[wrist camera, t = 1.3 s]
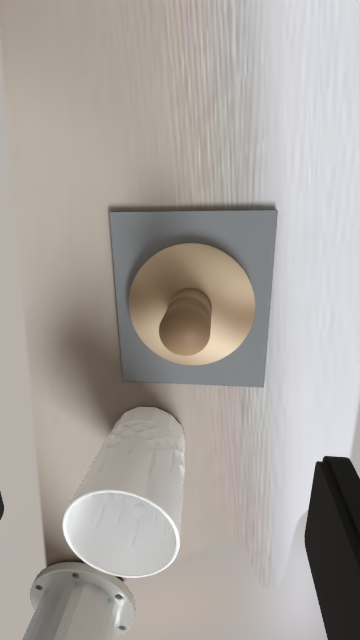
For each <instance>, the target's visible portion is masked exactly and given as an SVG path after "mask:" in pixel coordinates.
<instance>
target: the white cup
mask: <svg viewBox="0 0 360 640" xmlns="http://www.w3.org/2000/svg"><path fill="white" fill-rule="evenodd" d="M184 452H185V436H184V433H183V429H182V426H181V425H180V424H179V422H178V421H177V420H176V419H175V418H174V417H173V416H172V415H171V414H169V413H167V412H165V411H163V410H161V409H158V408H156V407H137V408H134V409H132V410H129V411H127V412H125V413H124V414H123V415H122V416H121V417H120V419H119V420H118V421H117V422H116V423H115V425H114V427H113V429H112V431H111V433H110V434H109V436H108V437H107V438H106V440H105V442H104V443H103V445H102V447H101V449H100V450H99V452H98V453H97V455H96V457H95V459H94V460H93V462H92V464H91V466H90V468H89V469H88V471H87V473H86V475H85V477H84V479H83V480H82V482H81V484H80V486H79V488H78V489H77V491H76V493H75V495H74V497H73V498H72V500H71V502H70V504H69V505H68V507H67V509H66V511H65V513H64V516H63V522H62V528H63V533H64V537H65V539H66V541H67V543H68V545H69V546H70V548H71V549H72V551H73V552H74V553H75V554H76V555H77V556H78V557H79V558H80V559H81V560H83V561H84V562H85V563H87V564H88V565H90V566H92V567H93V568H95V569H97V570H99V571H102V572H104V573H107V574H110V575H114V576H119V577H128V578H138V577H145V576H150V575H153V574H156V573H158V572H160V571H162V570H164V569H165V568H167V567H168V566H169V565H170V564H171V563H172V562H173V561H174V559H175V558H176V556H177V554H178V551H179V546H180V532H181V518H182V504H183V490H184V470H185V463H184Z"/></svg>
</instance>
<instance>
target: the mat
mask: <svg viewBox="0 0 360 640" xmlns="http://www.w3.org/2000/svg"><path fill="white" fill-rule="evenodd" d="M277 213H278V210H240V211H159V212H109V214H110V226H111V238H112V251H113V263H114V276H115V288H116V300H117V313H118V325H119V338H120V350H121V362H122V375H123V381H132V382H154V383H177V384H200V385H222V386H245V387H264V377H265V365H266V352H267V339H268V327H269V314H270V301H271V289H272V276H273V264H274V251H275V238H276V226H277ZM182 243H201V244H206V245H210V246H213V247H215V248H218V249H220V250H222V251H224V252H225V253H227V254H228V255H230V256H231V257H232V258H233V259H234V260H236V261H237V262H238V264H239V265H240V266H241V267H242V268H243V270H244V271H245V273H246V275H247V276H248V279H249V281H250V283H251V285H252V289H253V292H254V298H255V314H254V320H253V323H252V326H251V329H250V331H249V333H248V335H247V336H246V338H245V340H244V341H243V342H242V343H241V345H240V346H239V347H238V348H237V349H236V350H234V351H233V352H232V353H230V354H229V355H228V356H226V357H224V358H222V359H220V360H218V361H215V362H212V363H209V364H203V365H183V364H178V363H174V362H171V361H168V360H166V359H164V358H162V357H160V356H159V355H157V354H156V353H154V352H153V351H152V350H151V349H149V348H148V347H147V346H146V345H145V344H144V343H143V341H142V340H141V339H140V337H139V336H138V334H137V332H136V331H135V329H134V326H133V324H132V321H131V317H130V312H129V295H130V290H131V286H132V283H133V281H134V278H135V276H136V275H137V273H138V271H139V270H140V269H141V267H142V266H143V265H144V264H145V263H146V262H147V261H148V260H149V259H150V258H151V257H152V256H154V255H155V254H157V253H158V252H160V251H162V250H163V249H165V248H168V247H170V246H173V245H177V244H182Z"/></svg>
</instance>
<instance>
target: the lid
mask: <svg viewBox="0 0 360 640" xmlns="http://www.w3.org/2000/svg"><path fill="white" fill-rule="evenodd" d="M129 312H130V317H131V321H132V324H133V326H134V329H135V331H136V332H137V334H138V336H139V337H140V339H141V340H142V341H143V343H144V344H145V345H146V346H147V347H148V348H149V349H151V350H152V351H153V352H154V353H156V354H157V355H159V356H160V357H162V358H164V359H166V360H168V361H171V362H174V363H178V364H183V365H203V364H209V363H212V362H215V361H218V360H220V359H222V358H224V357H226V356H228V355H229V354H230V353H232V352H233V351H234V350H236V349H237V348H238V347H239V346H240V345H241V343H242V342H243V341H244V340H245V338H246V336H247V335H248V333H249V331H250V329H251V326H252V323H253V320H254V314H255V298H254V292H253V289H252V285H251V283H250V281H249V279H248V276H247V275H246V273H245V271H244V270H243V268H242V267H241V266H240V265H239V264H238V262H237V261H236V260H234V259H233V258H232V257H231V256H230V255H228V254H227V253H225V252H224V251H222V250H220V249H218V248H215V247H213V246H210V245H206V244H201V243H182V244H177V245H173V246H170V247H168V248H165V249H163V250H162V251H160V252H158V253H157V254H155V255H154V256H152V257H151V258H150V259H149V260H148V261H147V262H146V263H145V264H144V265H143V266H142V267H141V269H140V270H139V271H138V273H137V275H136V276H135V278H134V281H133V283H132V286H131V290H130V295H129Z"/></svg>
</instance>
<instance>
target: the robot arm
mask: <svg viewBox="0 0 360 640" xmlns="http://www.w3.org/2000/svg"><path fill="white" fill-rule="evenodd" d="M3 511H4V505H3V501H2V497H1V493H0V520H1V517H2V515H3ZM305 547H306V552H307V556H308V560H309V564H310V568H311V573H312V577H313V581H314V584H315V589H316V593H317V597H318V601H319V605H320V609H321V613H322V617H323V622H324V625H325V630H326V633H327V637H328V640H360V478H359V476H358V475H357V473H356V471H355V468H354V467H353V465H352V463H351V461H350V459H349V458H346V457H332V456H324V458H323V461H322V462H316V465H315V472H314V478H313V484H312V491H311V497H310V504H309V510H308V517H307V523H306V530H305ZM30 599H31V603H32V606H33V608H34V610H35V613H34V615H33V617H32V619H31V622H30V624H29V626H28V628H27V630H26V633H25V635H24V637H23V640H115V639H116V638H117V637H119V636H121V635H123V634H124V633H125V632H127V631H128V630H129V628H130V627H131V626H132V623H133V620H134V615H135V610H136V607H135V601H134V598H133V595H132V593H131V592H130V590H129V589H128V587H127V586H126V585H125V584H124V583H123V582H122V581H121V580H120V579H118V578H117V577H116V576H114V575H110V574H107V573H104V572H102V571H99V570H97V569H95V568H93V567H92V566H90V565H88V564H86V563H80V562H63V563H57V564H54V565H51V566H48V567H47V568H45V569H43V570H42V571H41V572H40V573H39V574H38V575H37V577H36V579H35V581H34V583H33V585H32V588H31V591H30Z"/></svg>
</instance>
